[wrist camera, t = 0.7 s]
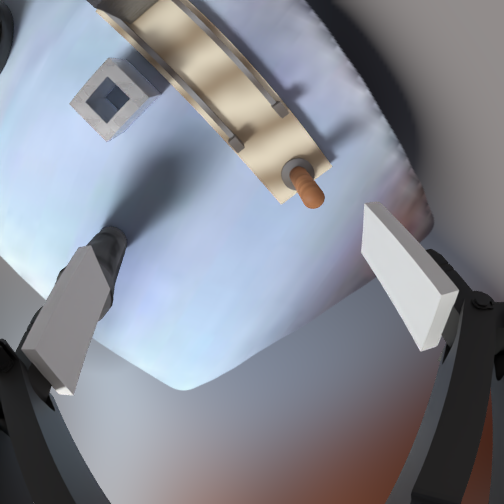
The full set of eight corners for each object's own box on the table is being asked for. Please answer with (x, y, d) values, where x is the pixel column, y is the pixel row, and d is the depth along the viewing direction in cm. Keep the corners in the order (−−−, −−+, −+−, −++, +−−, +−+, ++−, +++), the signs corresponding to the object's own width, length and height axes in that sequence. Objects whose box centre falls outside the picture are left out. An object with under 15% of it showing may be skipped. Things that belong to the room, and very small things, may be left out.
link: (91, 98, 30) (69, 103, 25) (126, 59, 28) (108, 57, 23) (124, 131, 33) (107, 142, 28) (161, 94, 31) (149, 97, 26)
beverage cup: (98, 208, 38) (27, 306, 21) (144, 232, 41) (98, 343, 24) (84, 248, 41) (24, 349, 24) (125, 270, 44) (84, 380, 27)
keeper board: (99, 12, 24) (64, -1, 17) (149, -32, 22) (127, -59, 14) (279, 200, 40) (293, 235, 32) (329, 163, 37) (356, 189, 30)
